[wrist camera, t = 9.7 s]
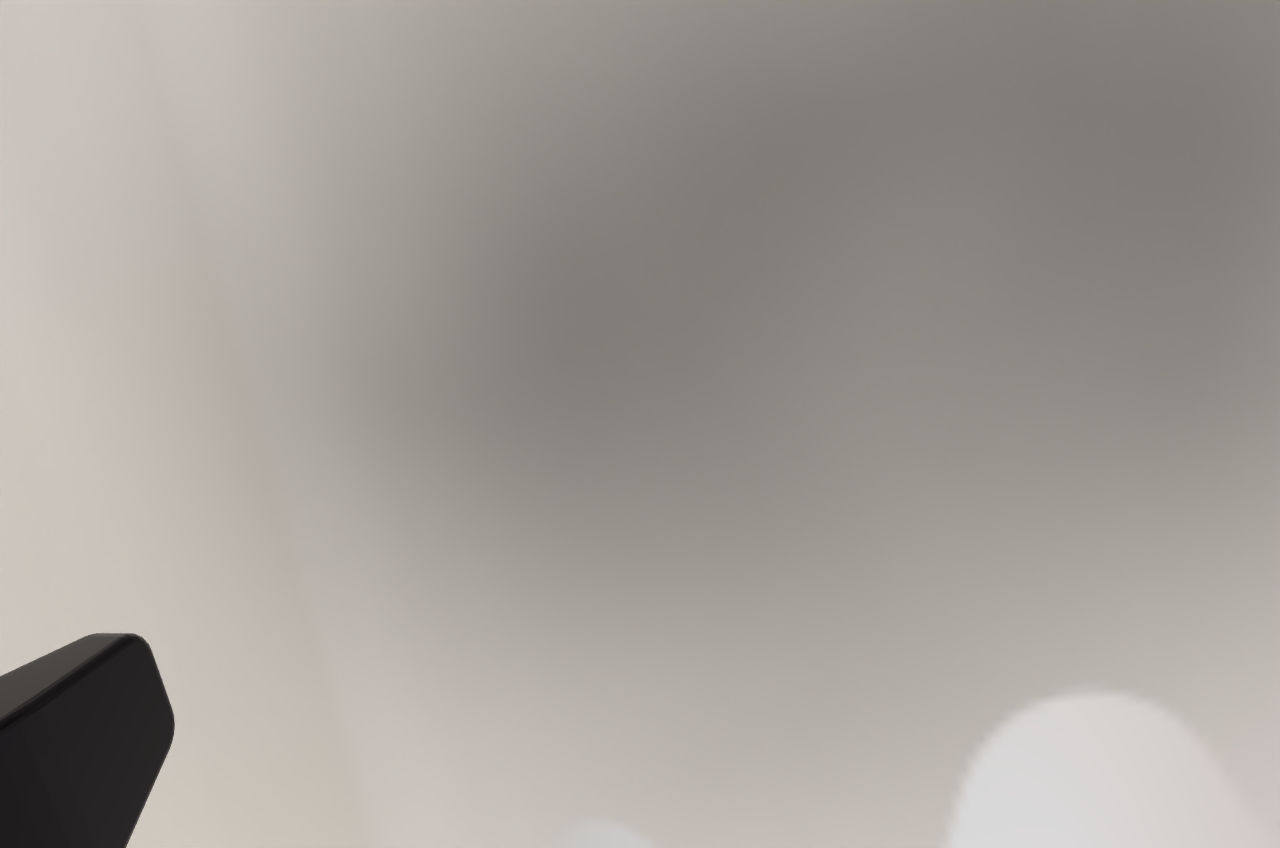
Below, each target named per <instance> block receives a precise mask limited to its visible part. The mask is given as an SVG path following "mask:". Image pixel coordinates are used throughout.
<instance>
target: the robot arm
mask: <svg viewBox="0 0 1280 848" xmlns="http://www.w3.org/2000/svg"><path fill="white" fill-rule="evenodd" d="M174 726H175V723H174V714H173V710H172V707H171V704H170V702H169V699H168V696H167V693H166V690H165V687H164V684H163V682H162V679H161V676H160V673H159V670H158V667H157V664H156V662H155V659H154V656H153V653H152V650H151V648H150V646H149V644H148V643H147V642H146V641H145V640H144V639H143V638H142V637H140V636H138V635H136V634H133V633H96V634H91V635H88V636H85V637H83V638H81V639H79V640H77V641H74V642H72V643H70V644H68V645H66V646H64V647H62V648H60V649H57V650H55V651H53V652H51V653H49V654H47V655H45V656H43V657H40V658H38V659H36V660H34V661H32V662H30V663H28V664H26V665H23V666H21V667H19V668H17V669H15V670H13V671H11V672H9V673H6V674H4V675H2V676H0V848H126V846H127V844H128V842H129V839H130V837H131V835H132V833H133V830H134V828H135V826H136V824H137V821H138V819H139V817H140V815H141V812H142V810H143V808H144V806H145V803H146V801H147V799H148V796H149V794H150V792H151V790H152V787H153V785H154V783H155V781H156V778H157V776H158V774H159V772H160V769H161V767H162V765H163V763H164V760H165V758H166V756H167V754H168V751H169V749H170V747H171V744H172V740H173V736H174Z"/></svg>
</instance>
